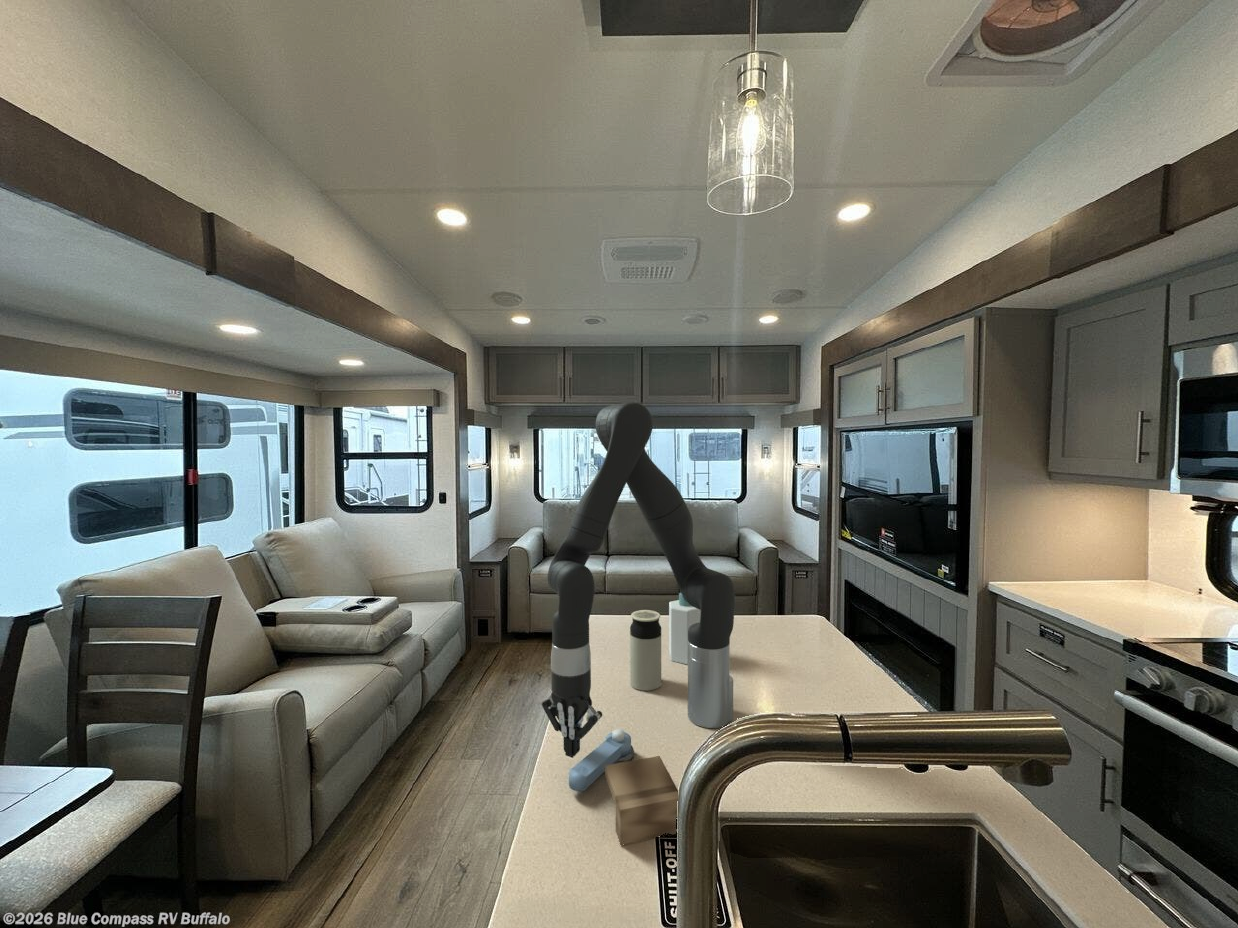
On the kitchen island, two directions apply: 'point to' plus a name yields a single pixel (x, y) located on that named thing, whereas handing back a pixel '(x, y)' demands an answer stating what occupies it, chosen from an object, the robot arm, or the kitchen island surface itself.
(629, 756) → the pivot boss
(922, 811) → the kitchen island surface
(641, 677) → the travel mug
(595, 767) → the swing link
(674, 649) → the soap bottle
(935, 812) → the kitchen island surface
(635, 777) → the brown square block
